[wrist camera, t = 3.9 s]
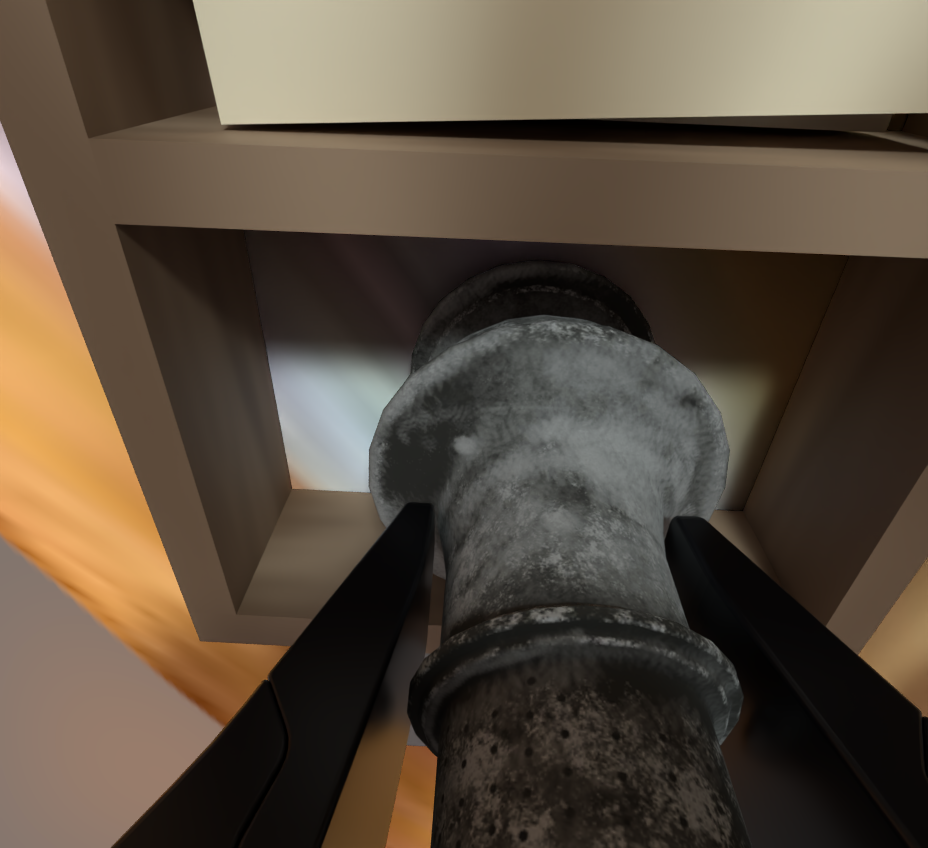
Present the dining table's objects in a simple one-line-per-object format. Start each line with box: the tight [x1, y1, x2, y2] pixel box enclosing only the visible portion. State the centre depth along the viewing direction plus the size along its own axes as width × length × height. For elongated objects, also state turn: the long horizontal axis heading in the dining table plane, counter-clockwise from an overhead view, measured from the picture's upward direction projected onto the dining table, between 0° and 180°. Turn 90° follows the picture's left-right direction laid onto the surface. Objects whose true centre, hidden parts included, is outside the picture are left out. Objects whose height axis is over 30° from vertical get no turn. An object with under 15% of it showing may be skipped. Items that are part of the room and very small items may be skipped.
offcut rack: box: [0, 0, 928, 655], centre depth 9 cm, size 14×16×4 cm
